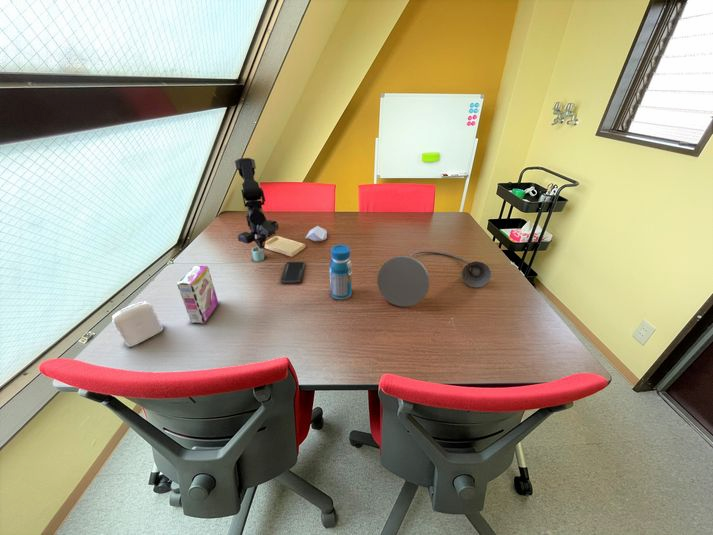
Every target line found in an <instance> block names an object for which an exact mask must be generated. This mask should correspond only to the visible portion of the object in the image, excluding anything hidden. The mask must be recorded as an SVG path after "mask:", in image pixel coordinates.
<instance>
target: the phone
mask: <svg viewBox="0 0 713 535" xmlns="http://www.w3.org/2000/svg"><path fill="white" fill-rule="evenodd" d="M304 270H305V262H304V261H288V262H286V264H285V268H284V270H283V274H282V276H281V283H282V284H300V283H301V280H302V277H303V273H304Z"/></svg>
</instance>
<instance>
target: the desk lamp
mask: <svg viewBox="0 0 713 535" xmlns="http://www.w3.org/2000/svg"><path fill="white" fill-rule="evenodd" d="M418 254H435V255H436V254H437V255H443V256H448V257H452V258H455V259H458V260H461V261H463V262H464V263H467V264H466V265H464V267H463V269H462V271H461V279H462V281H463V282H464V284H466V286H469V287H470V288H482V287H484V286H486V285H488V283H489V281H490V279H491V278H492V272H491V269H490V267H489V265H488V264H486V263H484V262H482V261H477V260H475V261H471V262H470V261H469V260H467V259H465V258H463V257H460V256H457V255H453V254H449V253H446V252H440V251H430V250H429V251H428V250H424V251H423V250H422V251H416V252H412V253H410V254H409V255H407V256H406V255H398V256H397V255H396V256H394V257H392V258H390V259H387V261H386V262H384V264H382V266H381V268H380V269H379V271H378V274H377V287H378V290H379V292H380V294H381V295H382V297H383V298H384V299H385V300H386V301H387V302H389V303H390V304H392V305H395V306H397V307H404V308H405V307H406V308H409V307H412V306H415V305H417V304H418V303H421V302H422V300H424V298H425V297H426V295H427V294H428V291H429V287H430V283H431V282H430V275H429V272H428V270H427V268H426V267H425V265H424V264H423V263H422V262H421V261H420V260H418V259H417V258H415V257H412V256H414V255H418Z"/></svg>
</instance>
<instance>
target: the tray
mask: <svg viewBox="0 0 713 535" xmlns="http://www.w3.org/2000/svg"><path fill="white" fill-rule="evenodd" d="M263 249H266V250H268V251H269V250H270V251H273V252H276V253H279V254H282V255H285V256H288V257H291V258H293V257H294V256H296V255H297V254H298V253H300V252H301V251H303V250H304V249H306V243H304V242H300V241H297V240H293V239H290V238H287V237H284V236H280V235H274V236H273V237H270V238H269V239H268V240H267V239H266V242H265V247H264V248H263Z"/></svg>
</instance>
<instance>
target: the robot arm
mask: <svg viewBox="0 0 713 535" xmlns="http://www.w3.org/2000/svg"><path fill="white" fill-rule="evenodd" d="M234 164H235V168H236V171H238V175H239V176H240V177H241V179H243V182H242V184H241V185H242V186H241V187H242V189H241V190H240V191H241V194H242V195H241V196H242V200H243V205H244V208H247V210H246V215H245V216H246V217H245V218H246V222H247V226H248V228H249V231H250V232H249V231H243V232H241V233H239V234H238V235H237V240H238V242H242V243H244V244H247V245H248V244H251V243H253V242H254V243H255V244H256V246H257V247H259V248H260V249H263V250H264V249H265V248H264V247H265V243H264V245H263V247H262V243H263V242H266V241H267V238H271V237H272V236H273V235H276V231H277V230H279V223H278V221H276V220H271V219H267V217H266V216H265V213H264V210H263V206H264V205H265V202H266V197H265V193H264V190H263V189H262V187H260V185H259V182H258V181H257V180H255V174H256V169H257V166H256V161H255V159H254V158H251V157H241V158H237V159H236V160H234Z"/></svg>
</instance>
